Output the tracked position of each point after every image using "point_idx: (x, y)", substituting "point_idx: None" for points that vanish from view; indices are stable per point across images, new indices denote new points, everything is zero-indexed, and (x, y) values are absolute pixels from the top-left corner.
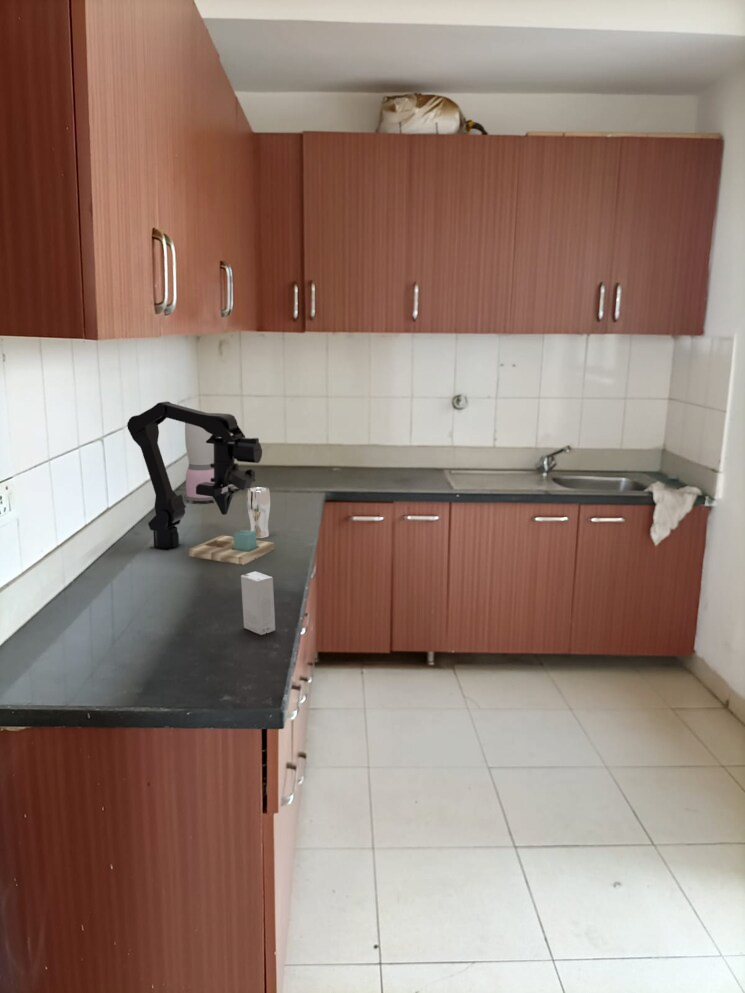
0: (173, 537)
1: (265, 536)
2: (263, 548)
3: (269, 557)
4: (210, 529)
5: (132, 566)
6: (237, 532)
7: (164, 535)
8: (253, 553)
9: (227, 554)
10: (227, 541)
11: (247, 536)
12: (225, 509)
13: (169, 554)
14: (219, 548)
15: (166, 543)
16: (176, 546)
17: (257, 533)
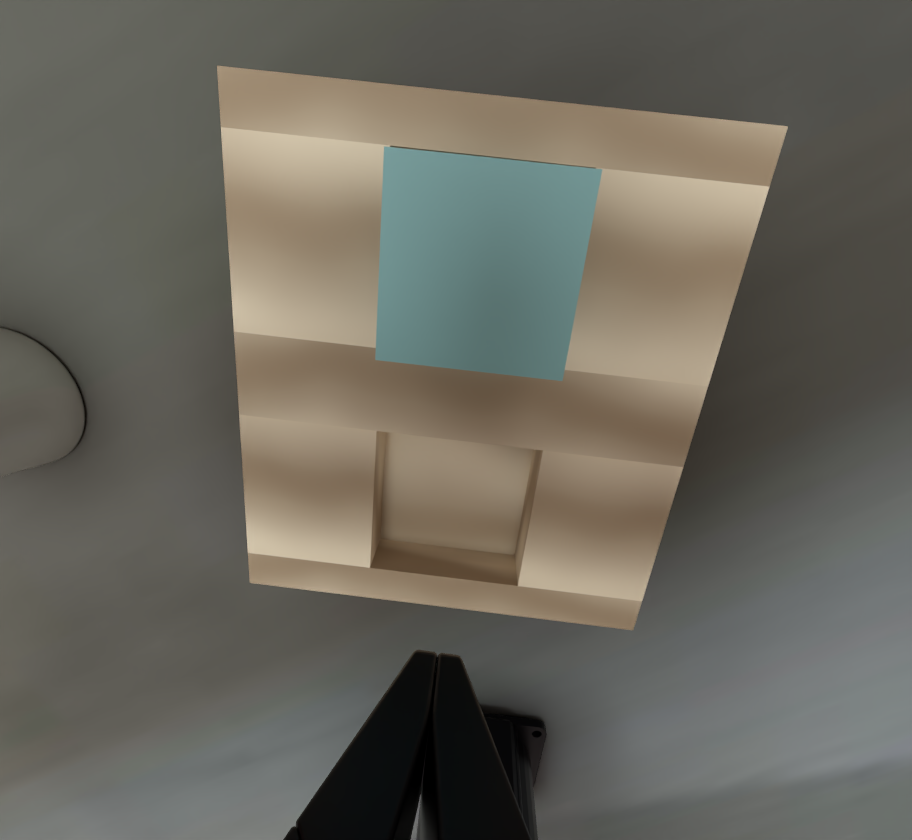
0: (511, 785)
1: (7, 338)
2: (422, 89)
3: (436, 42)
4: (83, 707)
5: (823, 752)
6: (508, 361)
7: (532, 835)
8: (604, 108)
9: (709, 322)
10: (370, 485)
11: (596, 173)
12: (475, 729)
13: (582, 695)
14: (562, 458)
15: (524, 772)
16: (485, 718)
17: (32, 395)
